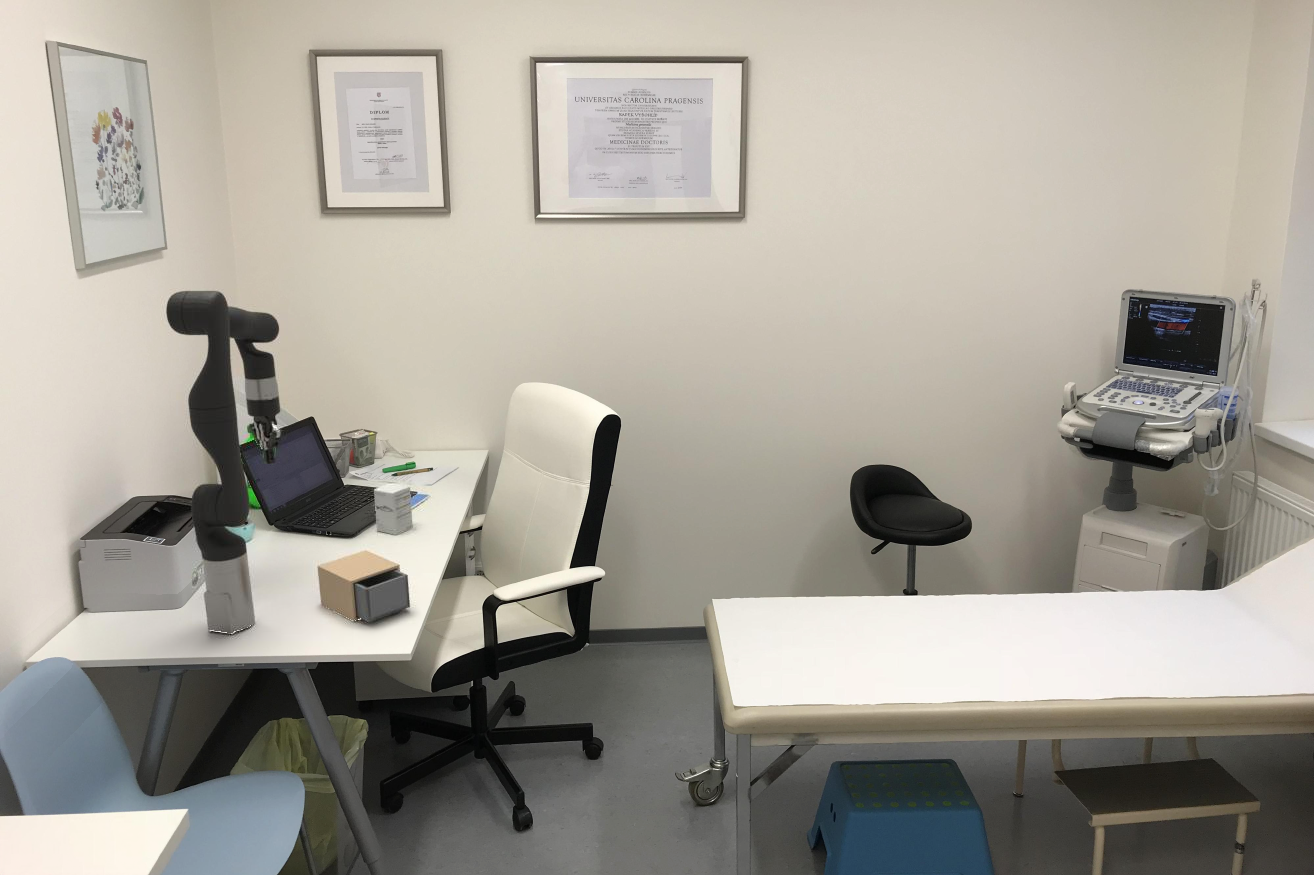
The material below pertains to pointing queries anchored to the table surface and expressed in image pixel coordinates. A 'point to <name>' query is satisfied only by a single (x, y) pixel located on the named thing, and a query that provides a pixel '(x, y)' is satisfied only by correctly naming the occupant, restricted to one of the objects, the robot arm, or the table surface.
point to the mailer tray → (381, 595)
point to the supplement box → (393, 508)
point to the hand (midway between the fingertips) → (269, 463)
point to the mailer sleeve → (348, 579)
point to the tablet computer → (418, 499)
